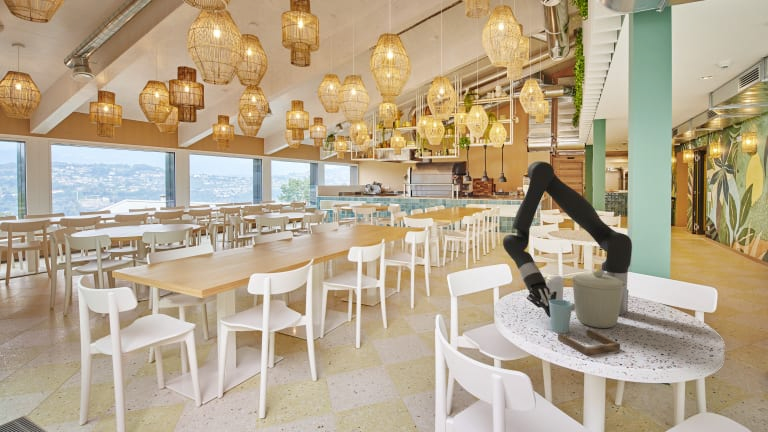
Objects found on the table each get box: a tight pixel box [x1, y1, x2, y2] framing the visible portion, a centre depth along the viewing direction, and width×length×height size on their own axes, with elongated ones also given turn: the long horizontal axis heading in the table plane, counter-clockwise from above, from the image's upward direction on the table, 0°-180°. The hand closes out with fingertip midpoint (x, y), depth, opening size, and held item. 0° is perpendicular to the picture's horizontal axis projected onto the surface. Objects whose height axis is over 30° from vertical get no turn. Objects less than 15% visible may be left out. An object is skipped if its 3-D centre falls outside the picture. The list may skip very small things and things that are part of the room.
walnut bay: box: [557, 329, 621, 356], centre depth 122 cm, size 13×12×2 cm
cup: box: [549, 299, 573, 334], centre depth 134 cm, size 8×8×10 cm
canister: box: [570, 268, 626, 329], centre depth 140 cm, size 18×18×21 cm
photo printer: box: [545, 274, 564, 300], centre depth 165 cm, size 10×4×12 cm, turn 123°
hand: (552, 316), depth 138 cm, fingers closed
